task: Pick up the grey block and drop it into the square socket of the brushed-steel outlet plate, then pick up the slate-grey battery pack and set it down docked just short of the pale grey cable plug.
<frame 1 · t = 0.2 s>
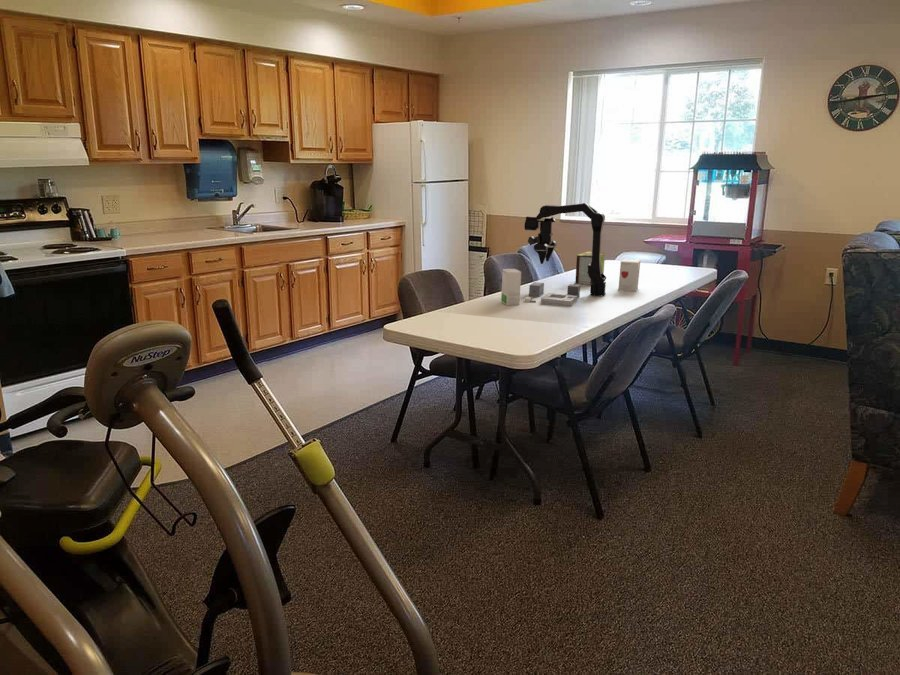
hand: (544, 262, 323), 14 cm above the table, fingers open, 9 cm apart
outlet plate: (561, 302, 301), on the table
cable plug: (527, 301, 303), on the table
skincare box: (510, 304, 298), on the table
grey block: (573, 297, 312), on the table
battery pack: (536, 295, 317), on the table
supplement box: (628, 289, 332), on the table
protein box: (589, 282, 350), on the table
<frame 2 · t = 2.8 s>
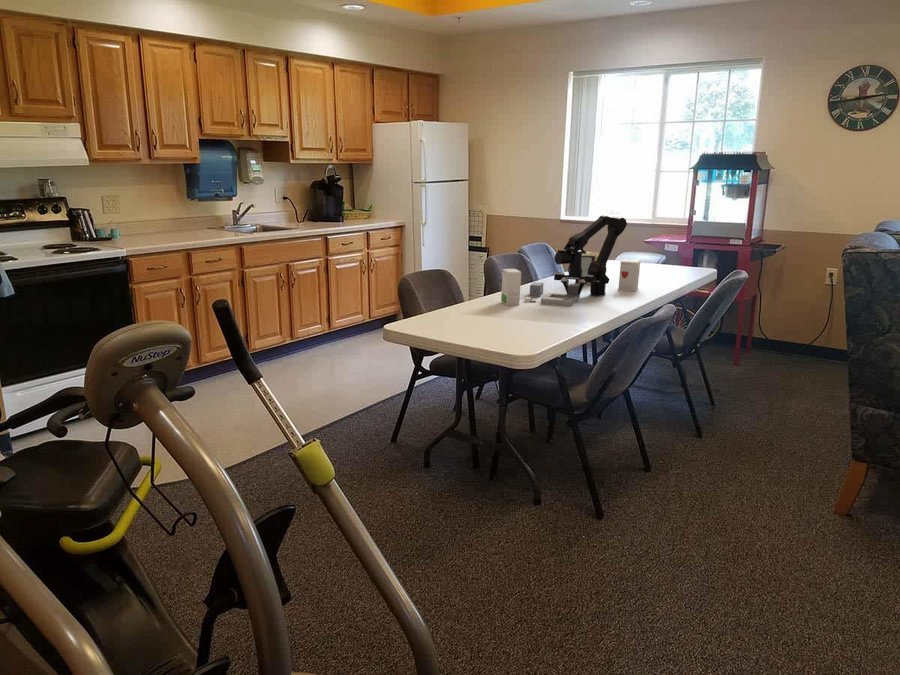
hand: (573, 295, 311), 1 cm above the table, fingers closed on grey block, 5 cm apart
grey block: (573, 297, 312), on the table, touching gripper
everything else where it was.
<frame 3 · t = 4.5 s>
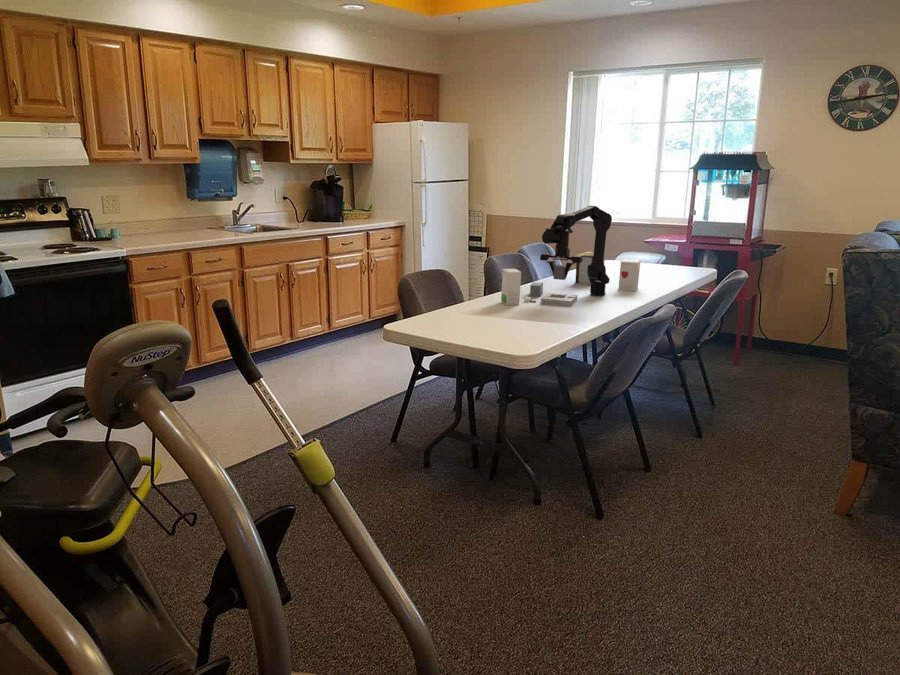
hand: (559, 276, 300), 12 cm above the table, fingers closed on grey block, 5 cm apart
grey block: (559, 278, 301), point 11 cm above the table, touching gripper
everything else where it was.
when the fingers open (3 cm above the table, at t = 6.4 s): grey block drops 3 cm, resting in outlet plate.
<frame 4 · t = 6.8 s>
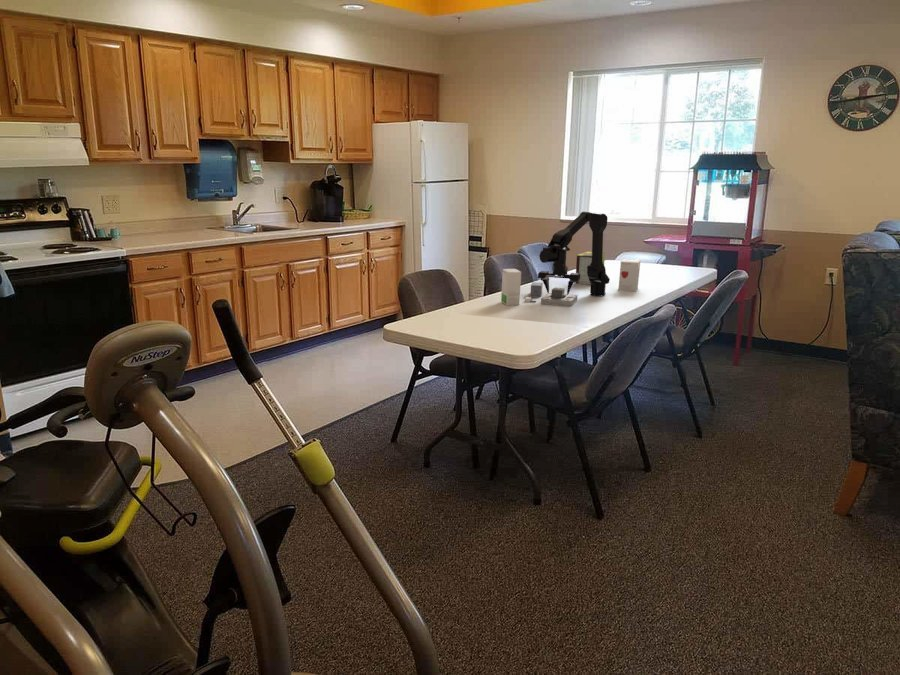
hand: (558, 294, 302), 3 cm above the table, fingers open, 9 cm apart
grey block: (557, 301, 303), resting in outlet plate
everything else where it was.
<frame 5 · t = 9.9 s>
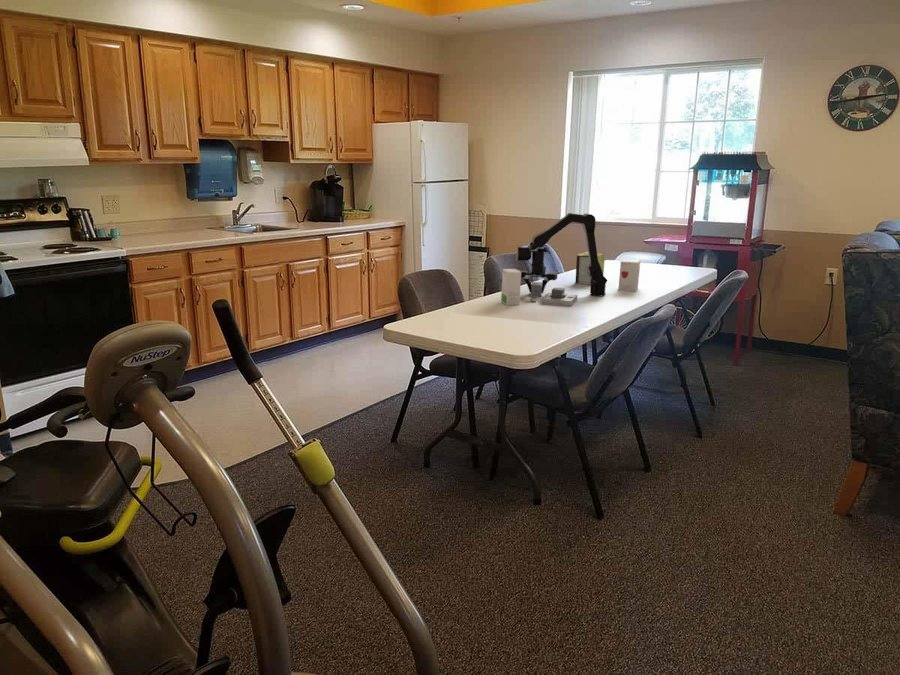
hand: (536, 292, 317), 1 cm above the table, fingers closed on battery pack, 5 cm apart
battery pack: (536, 294, 317), on the table, touching gripper
everything else where it was.
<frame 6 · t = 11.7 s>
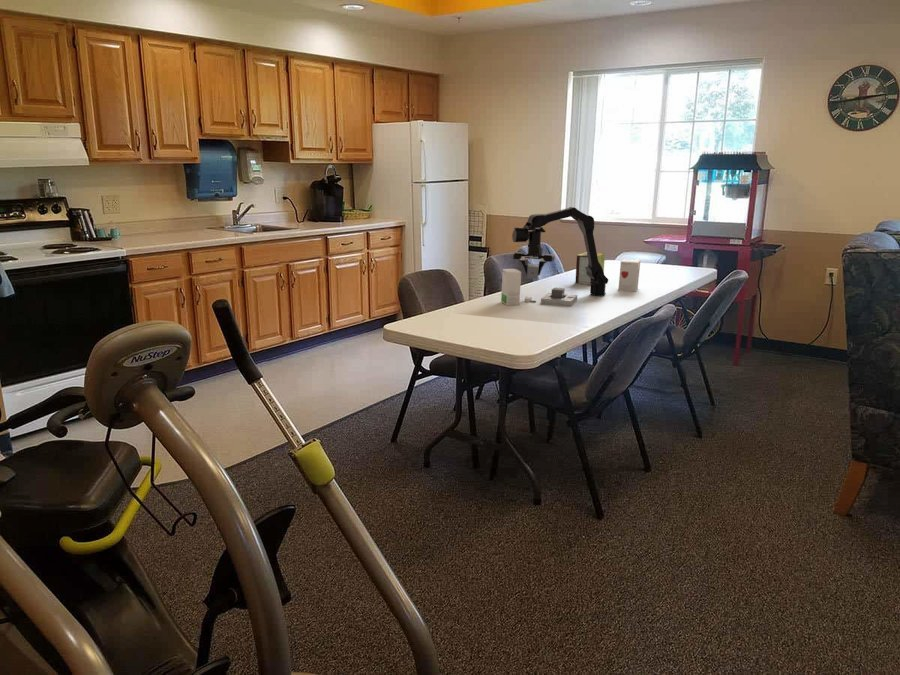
hand: (532, 274, 307), 11 cm above the table, fingers closed on battery pack, 5 cm apart
battery pack: (532, 277, 308), point 10 cm above the table, touching gripper
everything else where it was.
when the fingers open (3 cm above the table, at t = 13.6 s): battery pack drops 2 cm, on the table.
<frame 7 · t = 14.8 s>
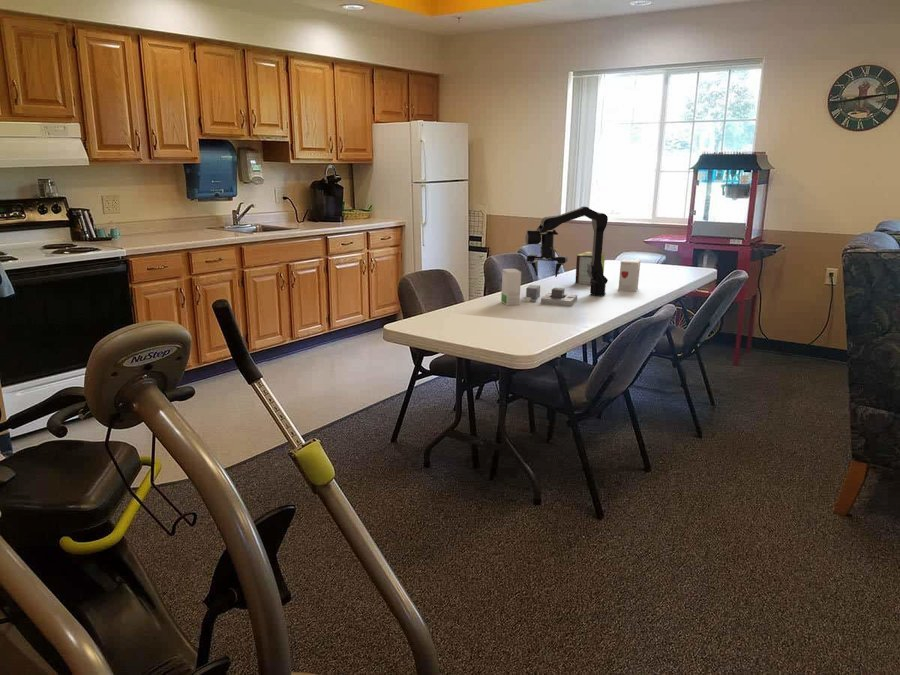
hand: (546, 276, 312), 9 cm above the table, fingers open, 9 cm apart
battery pack: (532, 298, 310), on the table
everything else where it was.
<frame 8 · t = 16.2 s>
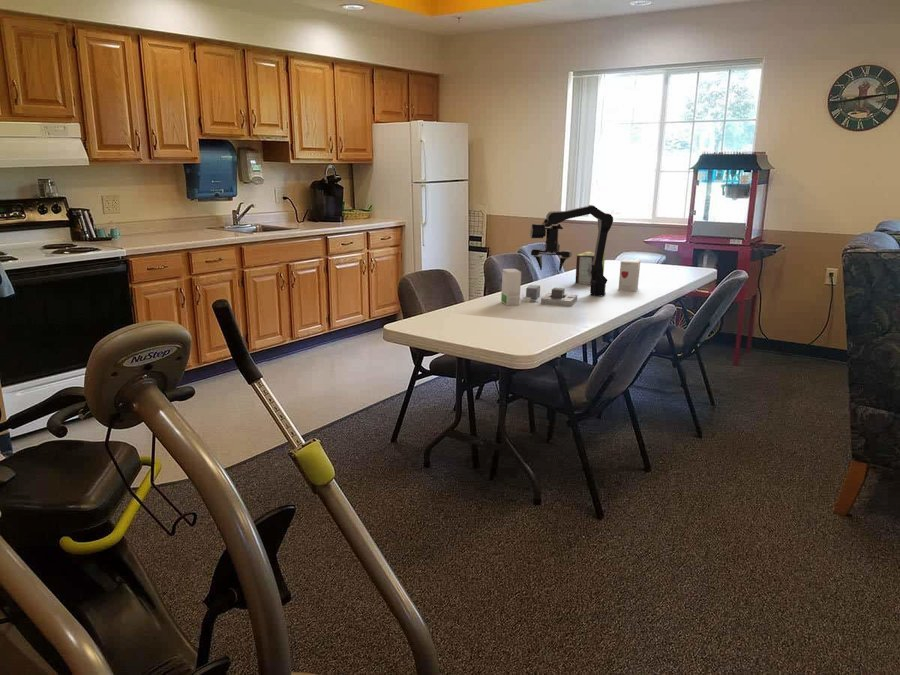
hand: (550, 270, 313), 12 cm above the table, fingers open, 9 cm apart
nothing on the table moved.
at the end: grey block 0.0 cm from the target spot on the outlet plate, point 0.0 cm above the outlet plate's base; battery pack inside the target area (0.4 cm from its centre), on the table; battery pack tilted 0° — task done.
